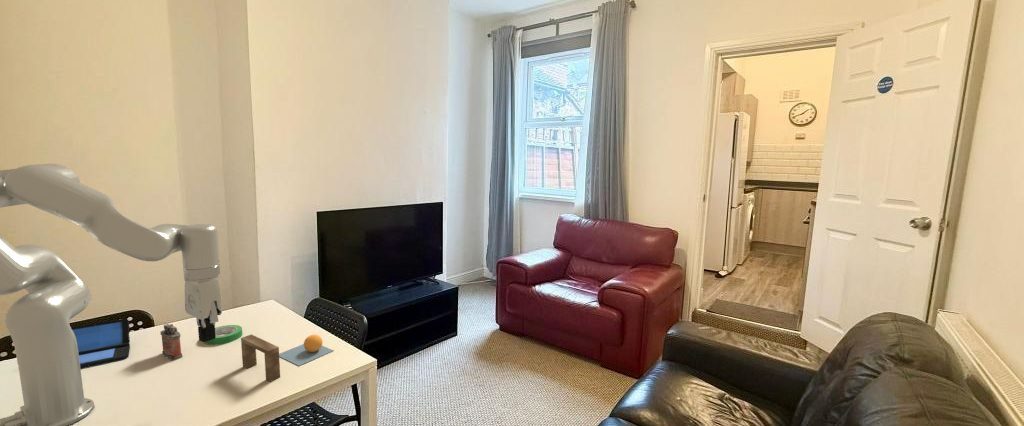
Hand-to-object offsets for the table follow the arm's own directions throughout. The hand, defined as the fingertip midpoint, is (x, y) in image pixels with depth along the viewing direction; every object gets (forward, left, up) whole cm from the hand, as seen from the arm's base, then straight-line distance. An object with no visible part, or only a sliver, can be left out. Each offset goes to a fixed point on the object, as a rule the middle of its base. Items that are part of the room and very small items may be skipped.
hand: (207, 339), depth 110 cm
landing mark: (+27, 0, -15) cm, 31 cm away
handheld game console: (-10, +49, -16) cm, 52 cm away
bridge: (+13, 0, -15) cm, 20 cm away
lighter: (+3, +32, -15) cm, 36 cm away
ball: (+29, -1, -12) cm, 32 cm away
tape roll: (+18, +33, -16) cm, 41 cm away
